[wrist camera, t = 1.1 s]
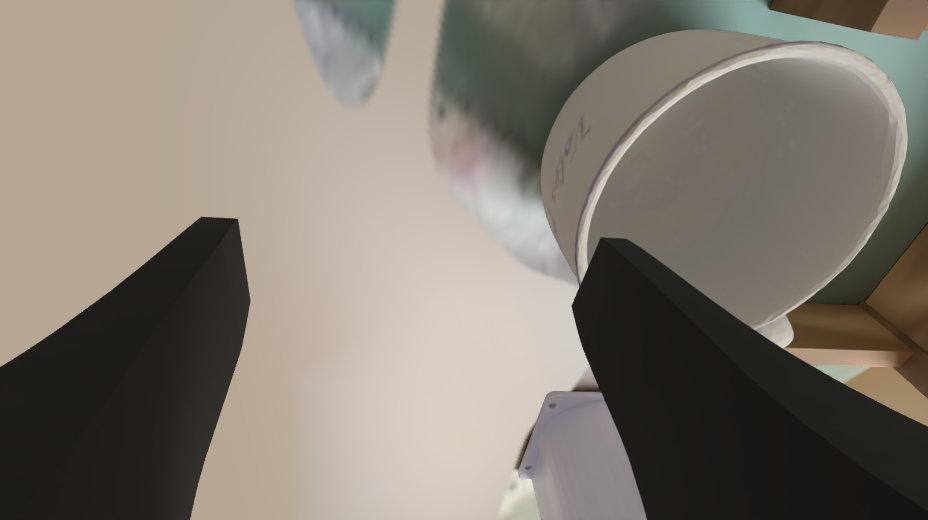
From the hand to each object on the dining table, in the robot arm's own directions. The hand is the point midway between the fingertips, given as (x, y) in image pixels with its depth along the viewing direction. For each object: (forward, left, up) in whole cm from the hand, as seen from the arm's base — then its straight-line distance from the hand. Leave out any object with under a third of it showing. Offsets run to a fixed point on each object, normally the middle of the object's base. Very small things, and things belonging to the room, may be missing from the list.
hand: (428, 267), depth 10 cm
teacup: (-2, -11, -12) cm, 17 cm away
